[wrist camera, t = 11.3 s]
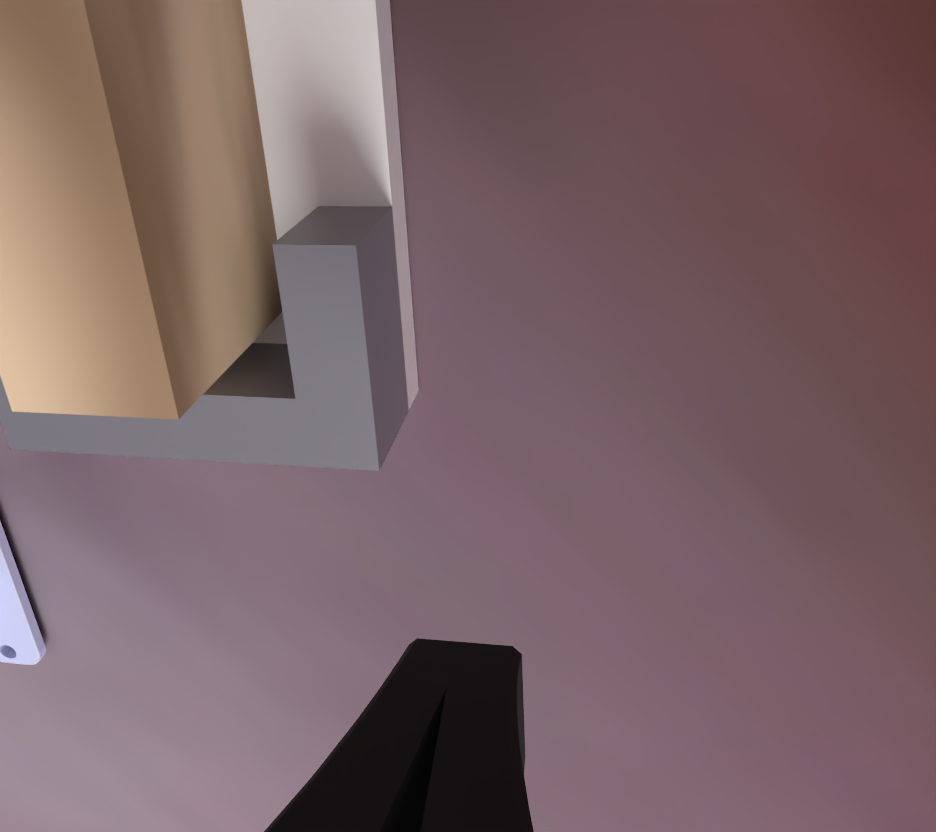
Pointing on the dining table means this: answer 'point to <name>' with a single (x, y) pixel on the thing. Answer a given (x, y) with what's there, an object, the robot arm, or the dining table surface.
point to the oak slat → (129, 204)
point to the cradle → (302, 267)
